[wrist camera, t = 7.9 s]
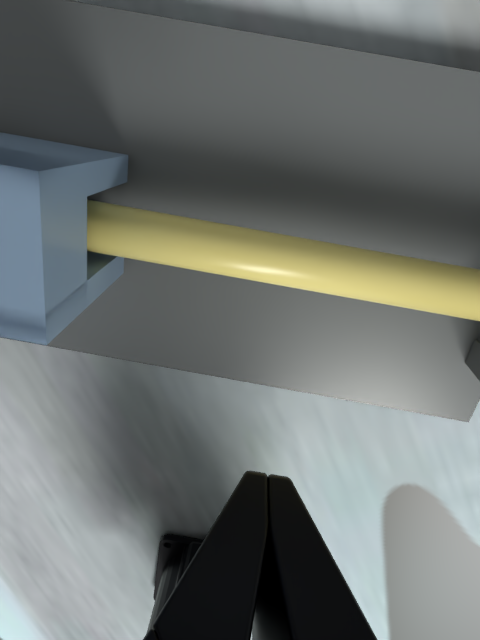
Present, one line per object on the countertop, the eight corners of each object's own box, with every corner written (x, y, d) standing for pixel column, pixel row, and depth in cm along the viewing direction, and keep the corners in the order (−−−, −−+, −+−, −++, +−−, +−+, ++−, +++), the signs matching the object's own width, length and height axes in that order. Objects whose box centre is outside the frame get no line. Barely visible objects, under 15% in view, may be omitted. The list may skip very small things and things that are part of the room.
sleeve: (123, 273, 18) (46, 345, 12) (9, 252, 18) (-124, 314, 12) (128, 154, 16) (39, 171, 10) (0, 132, 16) (-166, 134, 10)
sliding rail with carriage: (460, 409, 21) (523, 507, 16) (-45, 318, 21) (-155, 383, 16) (607, 99, 15) (791, 83, 10) (-95, -23, 15) (-299, -106, 10)
